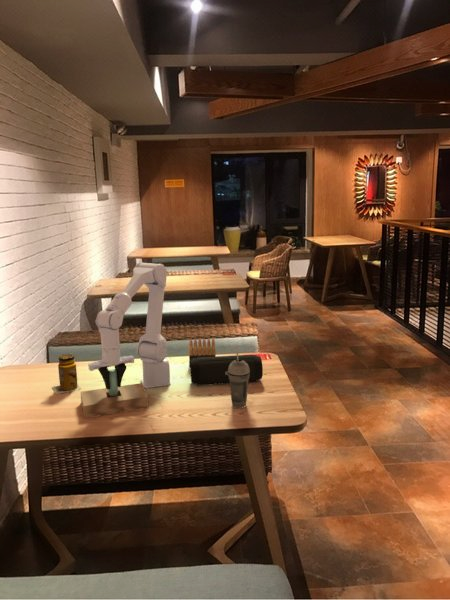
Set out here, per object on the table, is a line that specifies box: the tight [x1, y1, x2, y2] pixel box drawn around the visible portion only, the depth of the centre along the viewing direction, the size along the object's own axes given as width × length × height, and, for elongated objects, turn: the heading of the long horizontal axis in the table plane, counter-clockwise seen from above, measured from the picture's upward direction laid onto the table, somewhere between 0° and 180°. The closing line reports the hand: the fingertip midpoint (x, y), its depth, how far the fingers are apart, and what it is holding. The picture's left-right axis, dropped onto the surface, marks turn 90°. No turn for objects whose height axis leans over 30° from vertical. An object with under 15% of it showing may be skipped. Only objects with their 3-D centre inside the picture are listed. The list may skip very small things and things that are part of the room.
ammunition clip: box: [188, 337, 217, 369], centre depth 196 cm, size 11×2×12 cm, turn 92°
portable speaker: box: [189, 354, 264, 386], centre depth 180 cm, size 26×10×10 cm, turn 97°
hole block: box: [80, 382, 149, 419], centre depth 162 cm, size 20×12×4 cm, turn 110°
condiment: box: [51, 353, 82, 395], centre depth 176 cm, size 7×8×12 cm
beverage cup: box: [228, 345, 250, 409], centre depth 159 cm, size 7×7×20 cm
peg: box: [108, 368, 118, 396], centre depth 161 cm, size 3×3×8 cm
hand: (113, 387), depth 161 cm, fingers closed on peg, 3 cm apart
